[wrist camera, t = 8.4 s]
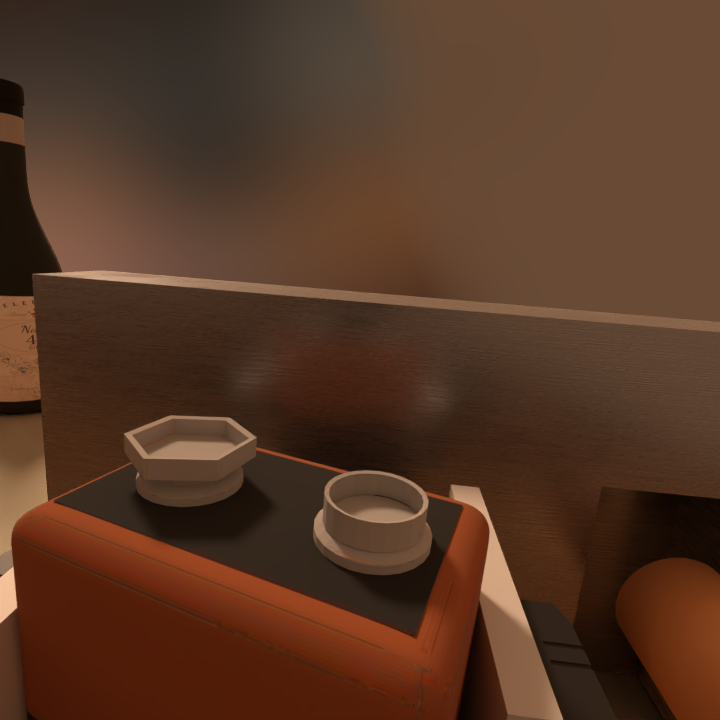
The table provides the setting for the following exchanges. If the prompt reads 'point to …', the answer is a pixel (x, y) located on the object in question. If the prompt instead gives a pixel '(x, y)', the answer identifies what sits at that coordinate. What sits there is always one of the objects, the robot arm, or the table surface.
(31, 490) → the table surface
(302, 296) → the panel
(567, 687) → the robot arm
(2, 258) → the wine bottle
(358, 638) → the battery
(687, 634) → the orange rounded cylinder
